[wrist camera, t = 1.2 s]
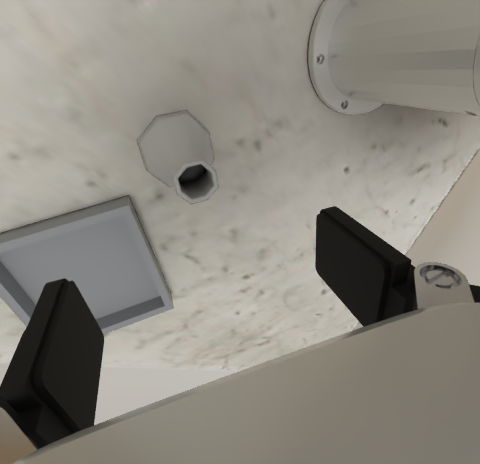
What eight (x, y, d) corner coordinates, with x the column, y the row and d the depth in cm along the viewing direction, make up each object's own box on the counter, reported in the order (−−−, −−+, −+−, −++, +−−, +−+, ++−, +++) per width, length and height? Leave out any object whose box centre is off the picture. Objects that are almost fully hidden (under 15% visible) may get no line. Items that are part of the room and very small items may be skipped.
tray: (128, 195, 29) (128, 205, 27) (171, 294, 37) (173, 308, 35) (-23, 239, 27) (-37, 254, 25) (55, 336, 34) (50, 354, 32)
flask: (224, 161, 31) (259, 195, 23) (166, 197, 31) (180, 244, 22) (189, 95, 27) (215, 107, 19) (122, 136, 27) (119, 166, 18)
